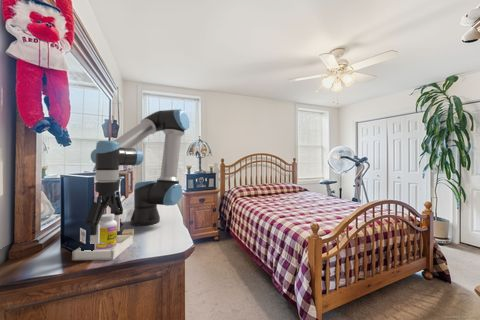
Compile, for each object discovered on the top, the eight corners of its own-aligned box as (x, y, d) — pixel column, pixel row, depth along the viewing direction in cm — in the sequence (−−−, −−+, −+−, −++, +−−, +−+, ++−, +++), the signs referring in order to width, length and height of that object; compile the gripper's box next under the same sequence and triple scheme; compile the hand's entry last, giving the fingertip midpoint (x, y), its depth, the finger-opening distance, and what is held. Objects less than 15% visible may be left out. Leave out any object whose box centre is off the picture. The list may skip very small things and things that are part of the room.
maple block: (123, 238, 92) (123, 229, 92) (133, 238, 93) (133, 229, 93) (121, 242, 88) (121, 232, 88) (132, 241, 90) (132, 231, 90)
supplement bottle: (106, 253, 76) (107, 217, 76) (91, 251, 77) (92, 216, 78) (120, 246, 83) (121, 213, 83) (106, 244, 84) (107, 212, 84)
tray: (100, 242, 87) (100, 235, 87) (133, 242, 88) (133, 235, 88) (72, 260, 72) (72, 251, 72) (113, 259, 72) (113, 251, 72)
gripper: (114, 178, 92) (113, 226, 92) (72, 184, 67) (71, 250, 67) (132, 178, 93) (131, 226, 92) (96, 184, 68) (95, 250, 68)
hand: (106, 236), depth 80 cm, fingers open, 13 cm apart
